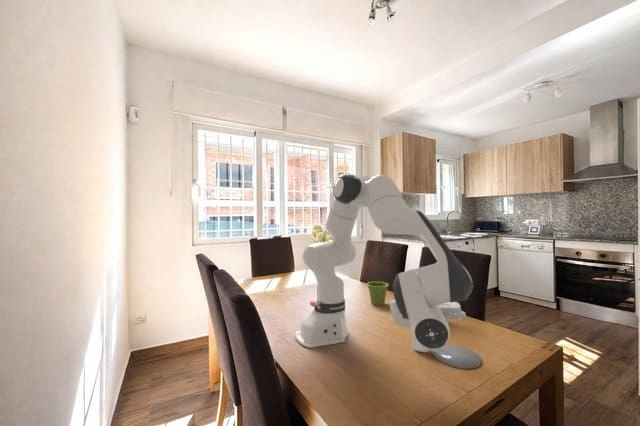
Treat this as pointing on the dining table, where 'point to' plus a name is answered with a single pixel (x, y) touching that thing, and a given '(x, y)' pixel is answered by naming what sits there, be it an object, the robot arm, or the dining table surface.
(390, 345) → the dining table surface
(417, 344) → the eye dropper bottle
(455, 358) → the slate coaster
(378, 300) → the plant pot
